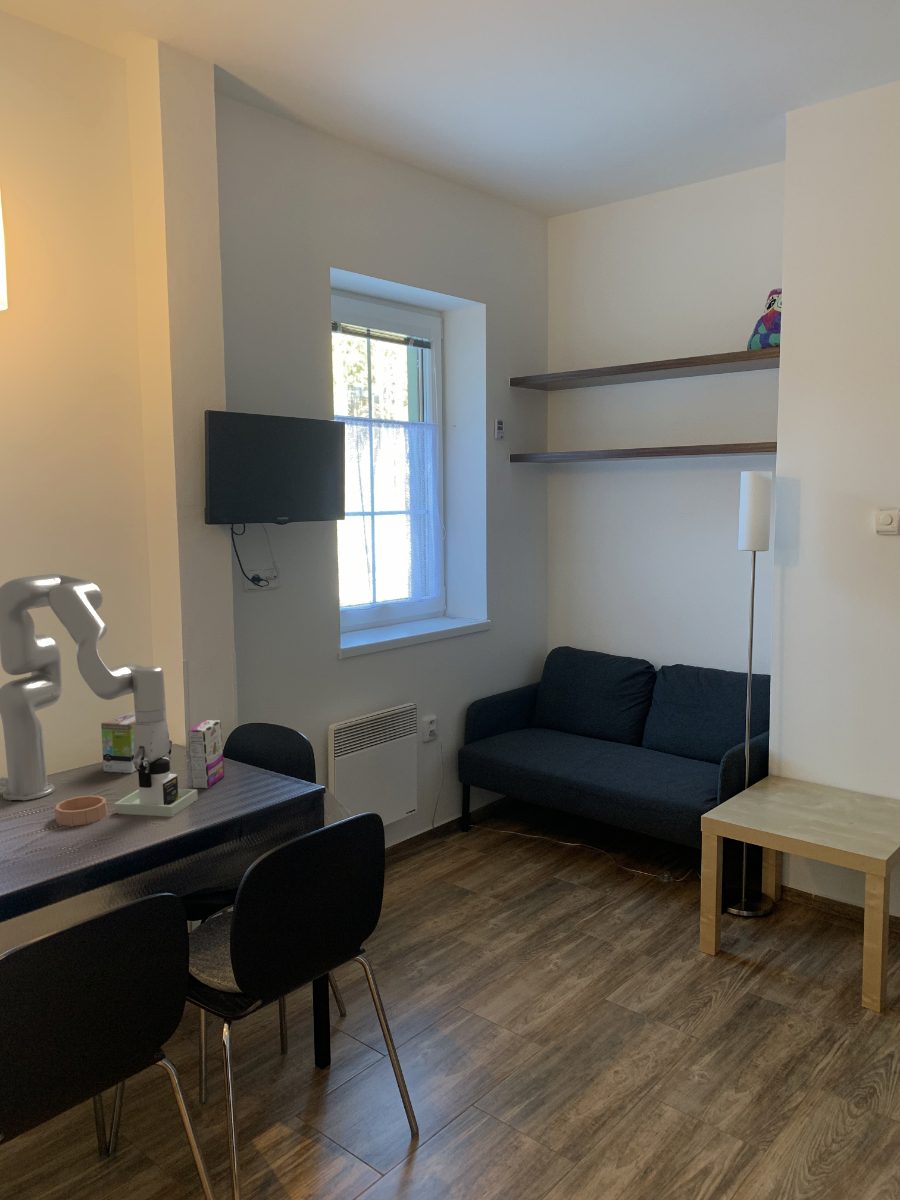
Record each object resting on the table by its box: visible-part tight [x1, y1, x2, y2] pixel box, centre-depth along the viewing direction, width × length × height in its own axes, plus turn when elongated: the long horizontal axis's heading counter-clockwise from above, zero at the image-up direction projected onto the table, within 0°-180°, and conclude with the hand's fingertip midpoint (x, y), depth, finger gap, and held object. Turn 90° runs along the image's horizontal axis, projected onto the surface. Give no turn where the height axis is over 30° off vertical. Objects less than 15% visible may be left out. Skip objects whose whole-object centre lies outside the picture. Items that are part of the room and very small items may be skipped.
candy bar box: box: [187, 719, 226, 789], centre depth 251 cm, size 11×5×16 cm, turn 171°
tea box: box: [100, 711, 148, 774], centre depth 269 cm, size 15×10×15 cm, turn 167°
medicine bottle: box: [138, 757, 179, 805], centre depth 232 cm, size 7×7×12 cm
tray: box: [113, 788, 199, 818], centre depth 233 cm, size 16×13×3 cm
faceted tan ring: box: [54, 795, 108, 826], centre depth 227 cm, size 12×12×4 cm
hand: (155, 781), depth 232 cm, fingers open, 8 cm apart
